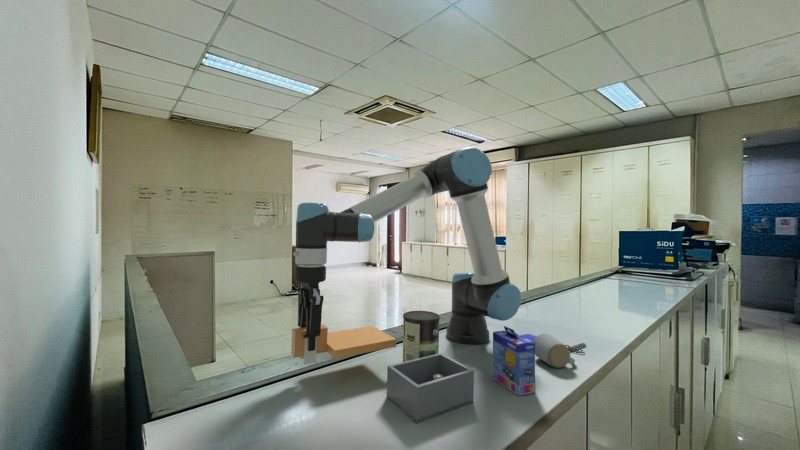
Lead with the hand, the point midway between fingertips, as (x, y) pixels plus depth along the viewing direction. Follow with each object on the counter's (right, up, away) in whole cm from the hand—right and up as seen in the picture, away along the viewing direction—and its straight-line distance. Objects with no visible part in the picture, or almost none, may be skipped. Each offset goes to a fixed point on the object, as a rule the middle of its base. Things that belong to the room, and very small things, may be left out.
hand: (307, 360), depth 80 cm
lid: (+8, +1, +5) cm, 9 cm away
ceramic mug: (+68, -7, +15) cm, 70 cm away
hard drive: (+66, -8, +32) cm, 74 cm away
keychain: (+80, -8, +26) cm, 85 cm away
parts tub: (+30, -6, -7) cm, 31 cm away
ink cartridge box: (+51, -7, 0) cm, 51 cm away
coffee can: (+29, -6, +11) cm, 31 cm away
